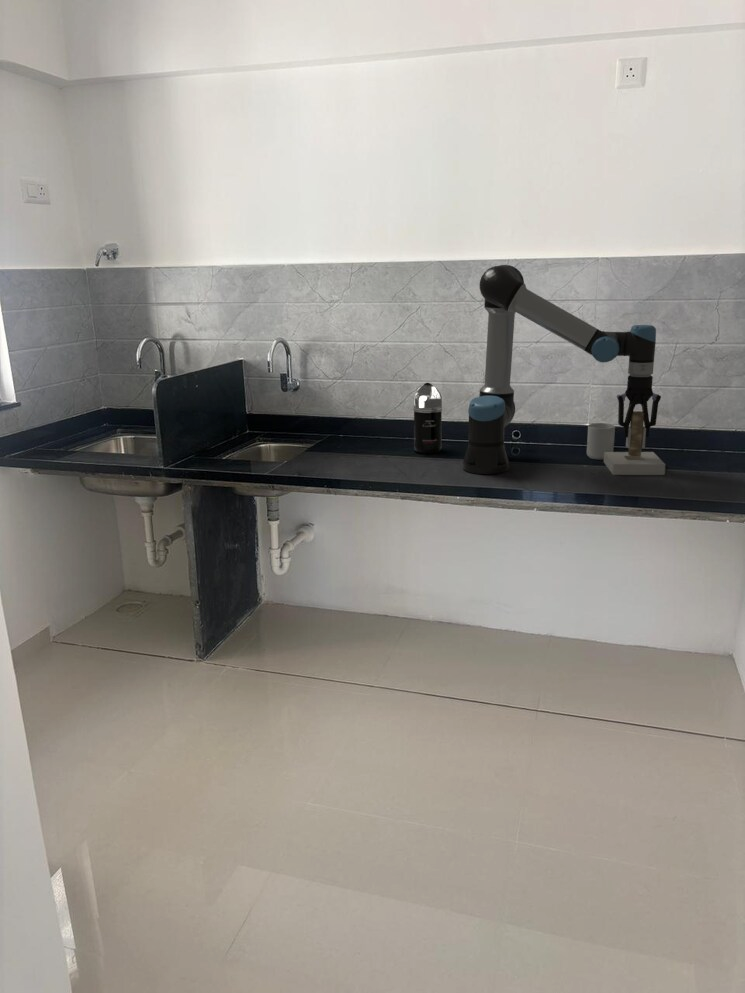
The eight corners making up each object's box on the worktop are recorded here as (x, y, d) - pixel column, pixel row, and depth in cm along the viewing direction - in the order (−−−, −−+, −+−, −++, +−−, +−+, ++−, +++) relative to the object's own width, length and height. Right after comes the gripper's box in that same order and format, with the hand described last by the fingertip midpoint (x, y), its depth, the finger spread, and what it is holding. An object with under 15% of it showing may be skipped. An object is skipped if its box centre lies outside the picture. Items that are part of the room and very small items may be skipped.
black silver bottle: (411, 448, 289) (411, 381, 282) (439, 447, 290) (439, 379, 283) (416, 455, 280) (415, 385, 272) (444, 453, 281) (444, 384, 273)
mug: (613, 461, 266) (615, 428, 262) (586, 459, 268) (588, 428, 265) (612, 452, 277) (614, 421, 273) (586, 451, 279) (588, 420, 276)
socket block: (612, 474, 250) (613, 464, 248) (603, 461, 265) (604, 451, 264) (664, 475, 248) (665, 464, 247) (652, 462, 263) (653, 451, 262)
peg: (629, 456, 253) (632, 413, 249) (627, 453, 257) (629, 411, 253) (642, 456, 253) (645, 413, 249) (639, 453, 257) (642, 411, 252)
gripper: (615, 377, 245) (610, 449, 251) (671, 376, 243) (665, 449, 250) (610, 373, 252) (606, 444, 259) (665, 372, 250) (659, 444, 257)
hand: (635, 446), depth 254 cm, fingers closed on peg, 4 cm apart
